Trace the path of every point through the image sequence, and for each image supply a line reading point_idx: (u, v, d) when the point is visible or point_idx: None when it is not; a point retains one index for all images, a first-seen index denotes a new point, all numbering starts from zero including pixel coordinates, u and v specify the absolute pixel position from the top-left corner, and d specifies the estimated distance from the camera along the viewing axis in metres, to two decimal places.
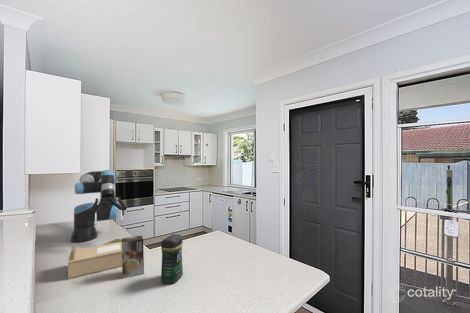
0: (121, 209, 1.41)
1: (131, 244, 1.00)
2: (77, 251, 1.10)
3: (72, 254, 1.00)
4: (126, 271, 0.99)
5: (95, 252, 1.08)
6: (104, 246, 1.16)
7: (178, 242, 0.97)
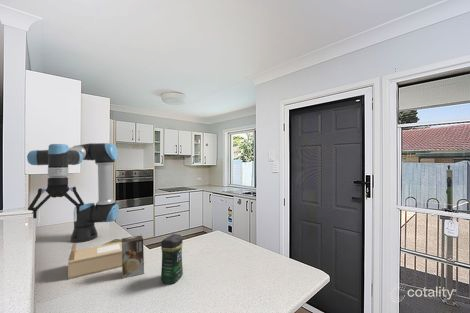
0: (76, 206, 1.06)
1: (131, 244, 1.00)
2: (77, 251, 1.10)
3: (72, 254, 1.00)
4: (126, 271, 0.99)
5: (95, 252, 1.08)
6: (104, 246, 1.16)
7: (178, 242, 0.97)
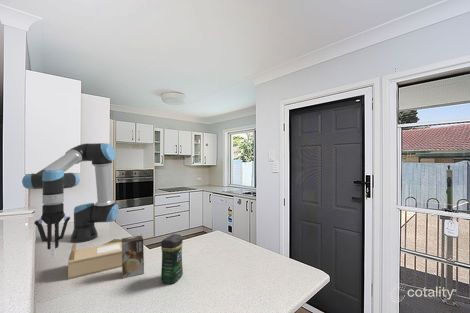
0: (54, 240, 1.01)
1: (131, 244, 1.00)
2: (77, 251, 1.10)
3: (72, 254, 1.00)
4: (126, 271, 0.99)
5: (95, 252, 1.08)
6: (104, 246, 1.16)
7: (178, 242, 0.97)
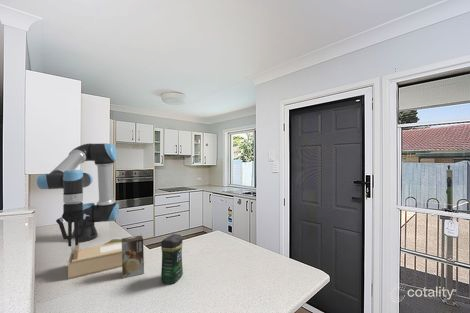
0: (74, 237, 1.05)
1: (131, 244, 1.00)
2: (80, 250, 1.11)
3: (75, 253, 1.01)
4: (126, 271, 0.99)
5: (98, 251, 1.09)
6: (107, 245, 1.17)
7: (178, 242, 0.97)
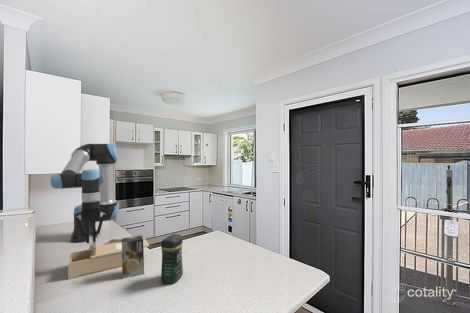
0: (92, 234, 1.09)
1: (131, 244, 1.00)
2: (97, 247, 1.14)
3: (94, 250, 1.05)
4: (126, 271, 0.99)
5: (114, 248, 1.13)
6: None
7: (178, 242, 0.97)
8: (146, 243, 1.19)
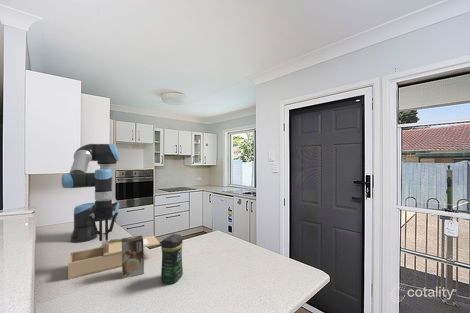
0: (105, 232, 1.12)
1: (131, 244, 1.00)
2: (109, 245, 1.17)
3: (107, 247, 1.08)
4: (126, 271, 0.99)
5: None
6: None
7: (178, 242, 0.97)
8: (156, 241, 1.22)
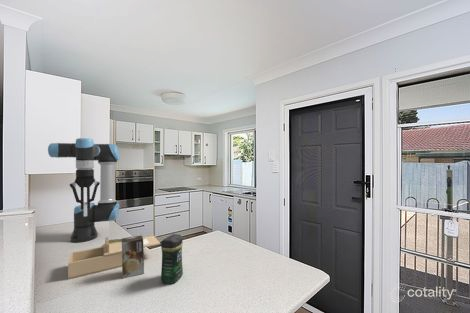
0: None
1: (131, 244, 1.00)
2: (109, 245, 1.17)
3: (107, 247, 1.08)
4: (126, 271, 0.99)
5: None
6: None
7: (178, 242, 0.97)
8: (157, 241, 1.22)
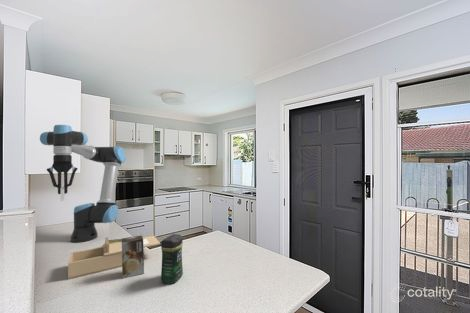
0: (64, 186, 1.15)
1: (131, 244, 1.00)
2: (109, 245, 1.17)
3: (107, 247, 1.08)
4: (126, 271, 0.99)
5: None
6: None
7: (178, 242, 0.97)
8: (157, 241, 1.22)
